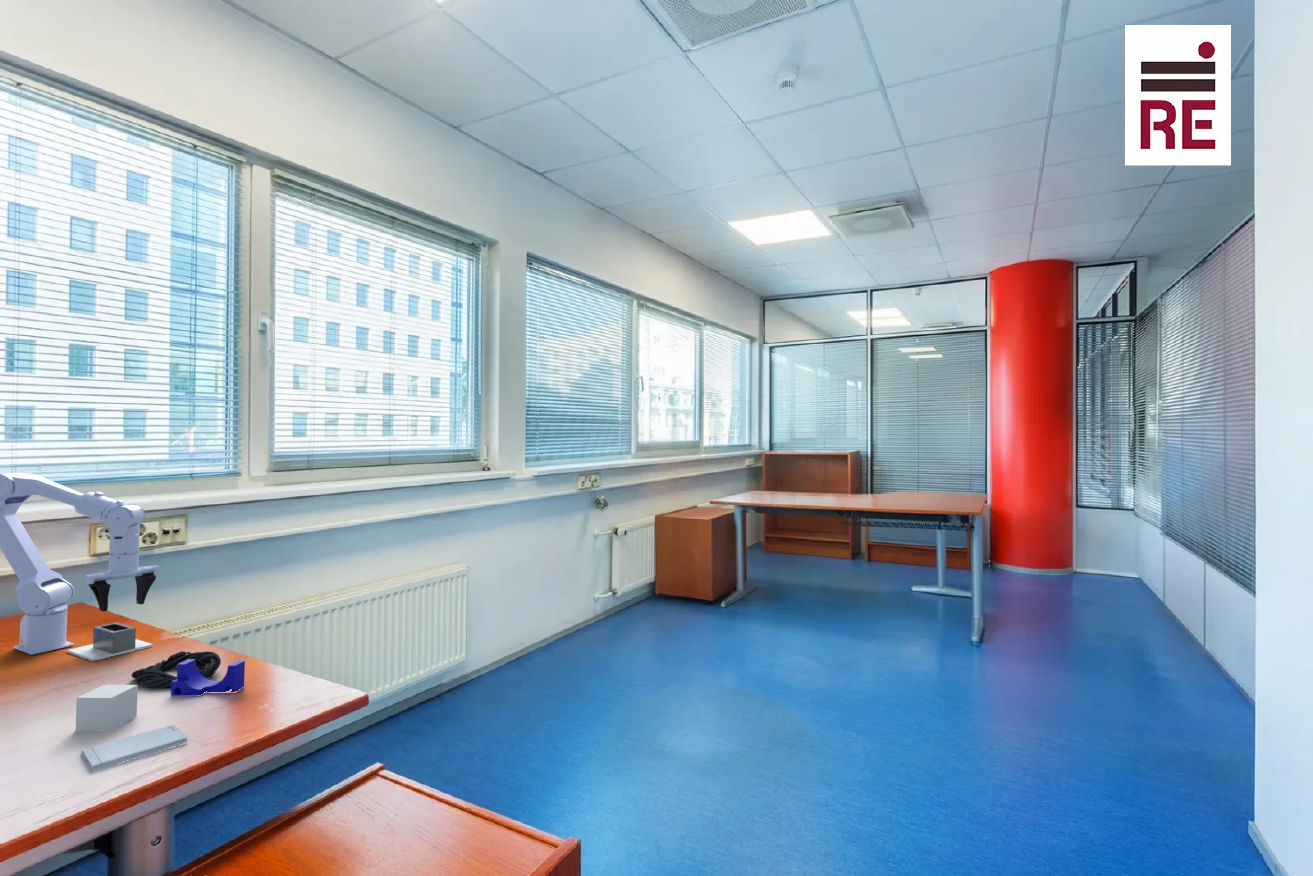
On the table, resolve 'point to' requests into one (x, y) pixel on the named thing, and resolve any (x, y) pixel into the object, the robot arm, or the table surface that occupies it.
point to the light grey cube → (106, 707)
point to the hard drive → (132, 747)
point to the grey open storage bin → (114, 637)
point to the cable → (160, 679)
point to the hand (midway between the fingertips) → (122, 607)
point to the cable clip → (196, 684)
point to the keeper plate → (97, 654)
